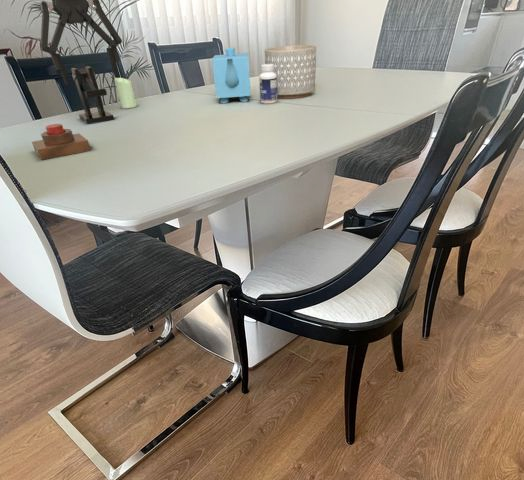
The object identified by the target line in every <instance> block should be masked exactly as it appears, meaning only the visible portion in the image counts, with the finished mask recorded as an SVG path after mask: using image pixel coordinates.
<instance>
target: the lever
mask: <svg viewBox="0 0 524 480" xmlns="http://www.w3.org/2000/svg"><path fill="white" fill-rule="evenodd" d="M77 69H78V71H79V75H80V78H81V81H82V84H84V83H85V84H86V85H87V87H88V88H89V90H84V91H85V95H86V98H87V99H90V98H94V97H97V96H100V97H102V96H107V95H108V92H107V89H106V88H98V89H97V90H96V88H95V87H94V85H93V84H92V82H91V81H90V78H89V74H88V72H87V70H86V68H85V67H83V68H77Z"/></svg>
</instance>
